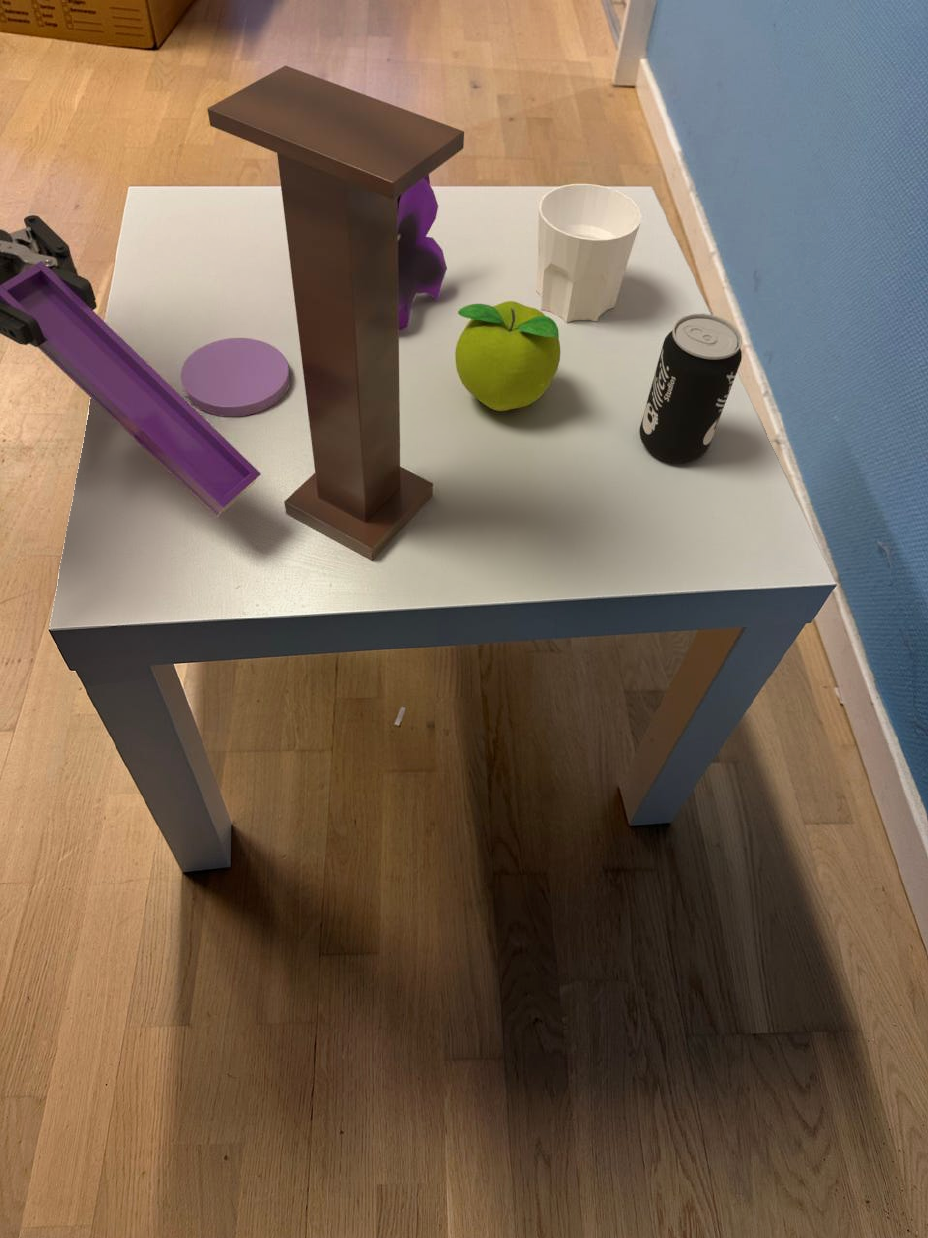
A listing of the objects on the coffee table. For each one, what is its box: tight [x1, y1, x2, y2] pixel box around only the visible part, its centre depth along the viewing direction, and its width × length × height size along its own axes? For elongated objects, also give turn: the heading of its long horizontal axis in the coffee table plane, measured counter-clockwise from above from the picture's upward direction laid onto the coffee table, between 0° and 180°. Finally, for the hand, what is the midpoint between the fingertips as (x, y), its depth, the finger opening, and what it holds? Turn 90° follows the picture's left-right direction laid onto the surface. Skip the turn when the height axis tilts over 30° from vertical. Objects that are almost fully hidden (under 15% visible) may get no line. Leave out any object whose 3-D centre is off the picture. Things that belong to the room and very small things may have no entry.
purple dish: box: [0, 261, 262, 518], centre depth 68 cm, size 4×22×2 cm, turn 58°
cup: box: [535, 183, 642, 323], centre depth 91 cm, size 10×10×10 cm
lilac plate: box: [180, 337, 291, 418], centre depth 85 cm, size 10×10×1 cm
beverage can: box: [638, 313, 743, 464], centre depth 78 cm, size 7×7×12 cm
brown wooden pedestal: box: [206, 65, 465, 561], centre depth 64 cm, size 9×13×32 cm
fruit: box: [454, 300, 561, 412], centre depth 82 cm, size 9×9×10 cm
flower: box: [397, 174, 448, 331], centre depth 91 cm, size 15×15×14 cm
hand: (64, 315), depth 66 cm, fingers closed on purple dish, 4 cm apart
